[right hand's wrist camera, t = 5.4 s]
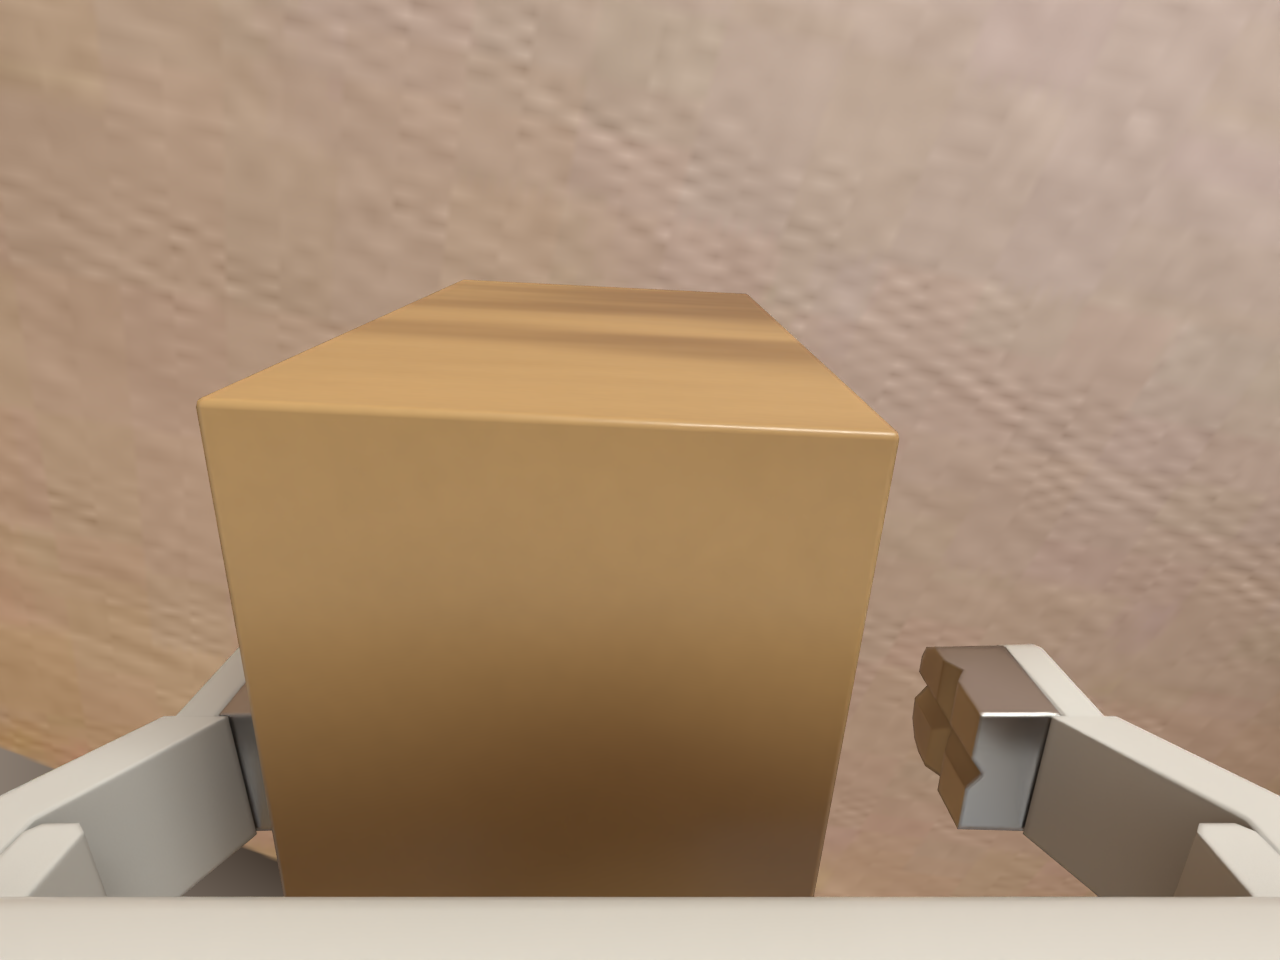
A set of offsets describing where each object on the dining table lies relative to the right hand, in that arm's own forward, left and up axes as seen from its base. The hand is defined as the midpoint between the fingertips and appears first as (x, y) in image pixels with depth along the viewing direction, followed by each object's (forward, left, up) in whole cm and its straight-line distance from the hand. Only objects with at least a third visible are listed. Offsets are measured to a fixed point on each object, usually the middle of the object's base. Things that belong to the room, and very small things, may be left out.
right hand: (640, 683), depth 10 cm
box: (+1, +6, -7) cm, 9 cm away
